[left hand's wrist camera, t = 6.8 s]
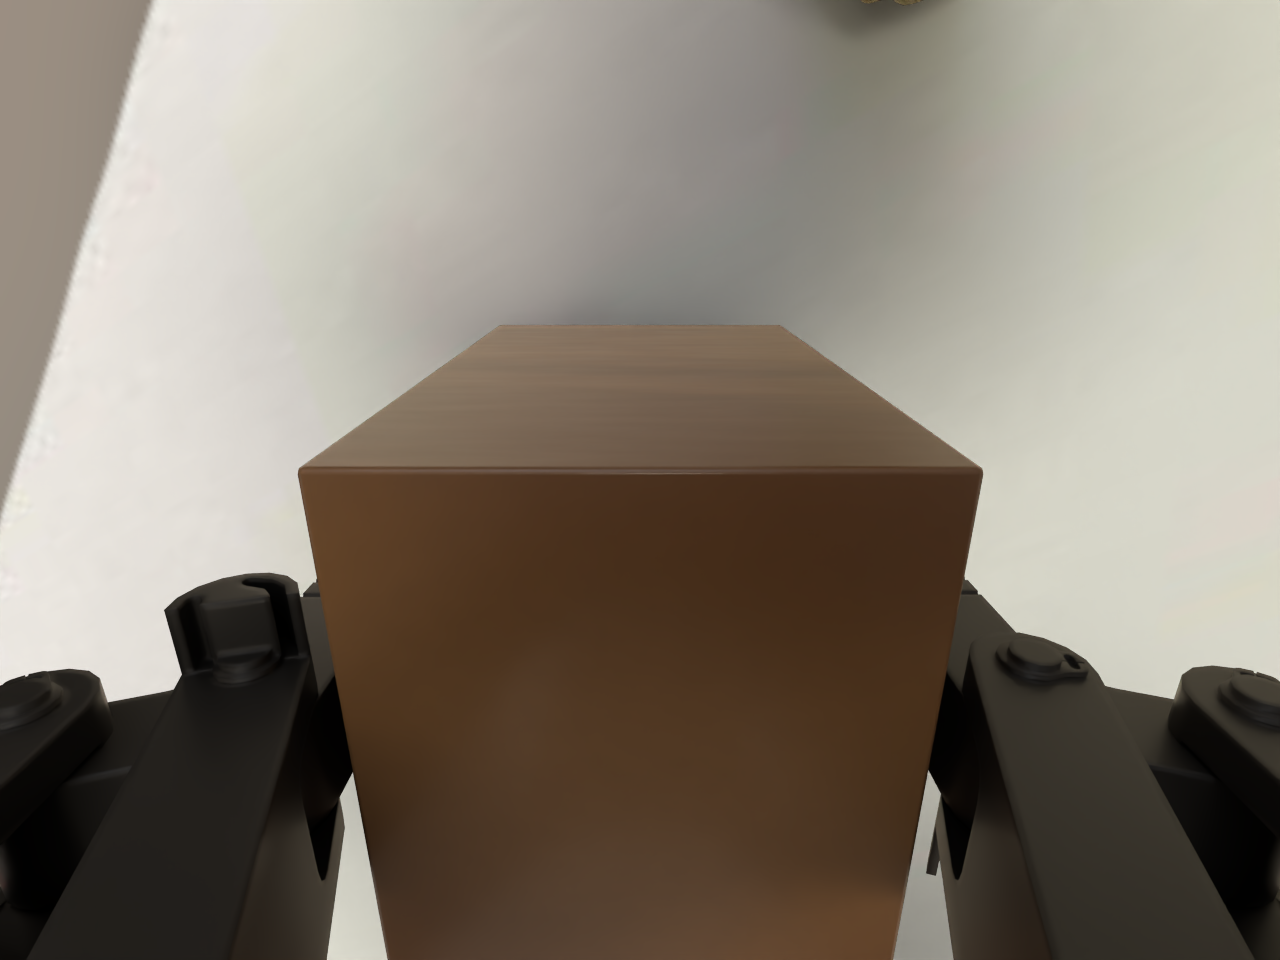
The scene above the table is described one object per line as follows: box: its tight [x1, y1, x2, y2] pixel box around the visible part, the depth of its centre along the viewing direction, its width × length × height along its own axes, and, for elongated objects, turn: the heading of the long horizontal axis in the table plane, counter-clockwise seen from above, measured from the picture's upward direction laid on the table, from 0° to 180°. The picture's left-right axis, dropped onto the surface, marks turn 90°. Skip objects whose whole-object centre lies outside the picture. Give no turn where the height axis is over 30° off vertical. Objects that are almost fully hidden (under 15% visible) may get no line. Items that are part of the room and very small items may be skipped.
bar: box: [298, 325, 983, 960], centre depth 13 cm, size 22×6×8 cm, turn 0°
